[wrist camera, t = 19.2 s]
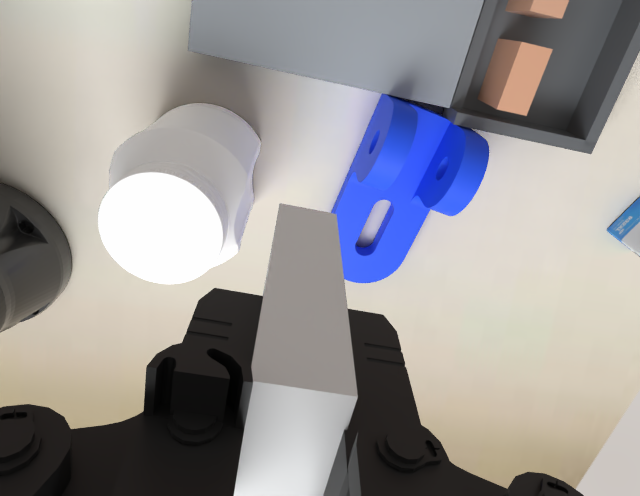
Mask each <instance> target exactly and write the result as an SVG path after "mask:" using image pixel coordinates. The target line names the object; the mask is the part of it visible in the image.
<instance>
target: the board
mask: <svg viewBox="0 0 640 496" xmlns="http://www.w3.org/2000/svg"><path fill="white" fill-rule="evenodd" d="M483 2H484V0H192V6H191V19H190V31H189V43H188V51H192V52H196V53H201V54H205V55H210V56H214V57H219V58H223V59H228V60H233V61H237V62H242V63H246V64H251V65H255V66H260V67H264V68H269V69H274V70H278V71H283V72H287V73H292V74H296V75H301V76H305V77H310V78H314V79H319V80H324V81H328V82H333V83H337V84H342V85H346V86H351V87H355V88H360V89H364V90H369V91H374V92H378V93H383V94H387V95H392V96H396V97H401V98H405V99H410V100H414V101H419V102H424V103H428V104H433V105H437V106H442V107H446V108H450V105H451V102H452V98H453V95H454V92H455V89H456V86H457V83H458V80H459V77H460V74H461V71H462V67H463V64H464V61H465V58H466V55H467V52H468V49H469V46H470V43H471V39H472V36H473V33H474V30H475V27H476V24H477V21H478V18H479V15H480V12H481V8H482V5H483Z"/></svg>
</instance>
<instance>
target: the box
mask: <svg viewBox="0 0 640 496" xmlns="http://www.w3.org/2000/svg"><path fill="white" fill-rule="evenodd" d="M507 3H508V0H484V2H483V5H482V8H481V12H480V15H479V18H478V21H477V24H476V27H475V30H474V33H473V36H472V39H471V43H470V46H469V49H468V52H467V55H466V58H465V61H464V64H463V67H462V71H461V74H460V77H459V80H458V83H457V86H456V89H455V92H454V95H453V98H452V102H451V105H450V108H446V107H444V110H443V113H442V115H443V116H444V117H445V118H446V119H448V120H449V121H450V122H451V123H453V124H454V125H459V126H464V127H468V128H473V129H477V130H482V131H487V132H491V133H496V134H500V135H505V136H510V137H514V138H519V139H524V140H528V141H533V142H537V143H542V144H547V145H551V146H556V147H561V148H565V149H570V150H574V151H579V152H584V153H588V154H591V153H592V151H593V149H594V147H595V145H596V143H597V141H598V138H599V136H600V134H601V132H602V130H603V128H604V126H605V123H606V121H607V119H608V117H609V115H610V113H611V111H612V109H613V106H614V104H615V102H616V100H617V98H618V96H619V94H620V92H621V89H622V87H623V85H624V83H625V81H626V79H627V77H628V75H629V72H630V70H631V68H632V66H633V64H634V62H635V60H636V57H637V55H638V53H639V51H640V0H569V2H568V5H567V7H566V10H565V12H564V15H563V17H562V19H554V18H532V17H528V16H524V15H520V14H515V13H511V12H507V11H505V9H506V6H507ZM498 38H499V39H506V40H513V41H520V42H525V43H529V44H533V45H537V46H541V47H546V48H550V49H553V50H552V53H551V55H550V58H549V60H548V63H547V65H546V68H545V70H544V73H543V75H542V78H541V80H540V83H539V86H538V88H537V91H536V93H535V96H534V98H533V101H532V103H531V106H530V108H529V111H528V113H527V116H524V115H520V114H515V113H511V112H507V111H502V110H498V109H495V108H493V107H492V106H490V105H488V104H486V103H484V102H482V101H480V100H478V99H477V98H478V95H479V92H480V89H481V86H482V84H483V81H484V78H485V75H486V72H487V69H488V66H489V63H490V60H491V58H492V55H493V52H494V49H495V46H496V43H497V40H498Z"/></svg>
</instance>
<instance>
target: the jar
mask: <svg viewBox="0 0 640 496" xmlns="http://www.w3.org/2000/svg"><path fill="white" fill-rule="evenodd" d="M260 146H261V141H260V139H259V137H258V136H257V134H256V133H255V131H254V130H253V129H252V127H251V126H250V125H249V124H248V123H247V122H246V121H245V120H243V119H242V118H241V117H240V116H238V115H237V114H235V113H234V112H232V111H230V110H228V109H226V108H223V107H220V106H217V105H213V104H207V103H191V104H186V105H182V106H179V107H176V108H174V109H172V110H170V111H168V112H167V113H165V114H164V115H162V116H161V117H160V118H159V119H157V120H156V121H155V122H154V123H153V124H152V125H150V126H149V127H147V128H146V129H145V130H143V131H141V132H139V133H137V134H135V135H134V136H132V137H131V138H129V139H128V140H126V141H125V142H124V143H123V144H121V145H120V146H119V147H118V148H117V150H116V151H115V152H114V155H113V158H112V162H111V165H110V170H109V173H110V179H109V190H108V191H107V192H106V194H105V195H104V197H103V200H102V202H101V205H100V208H99V213H98V228H99V232H100V236H101V239H102V241H103V244H104V245H105V247H106V249H107V251H108V252H109V254H110V255H111V256H112V257H113V259H114V260H115V261H116V262H117V263H118V264H119V265H120V266H122V267H123V268H124V269H126V270H127V271H128V272H130V273H132V274H133V275H135V276H137V277H139V278H142V279H144V280H147V281H150V282H154V283H160V284H178V283H184V282H188V281H191V280H194V279H196V278H197V277H199V276H201V275H203V274H204V273H205V272H207V271H208V270H209V269H210V268H212V267H215V266H217V265H220V264H222V263H224V262H226V261H227V260H229V259H230V258H232V257H233V256H234V255H235V254H237V253H238V252H239V249H240V245H241V239H242V236H243V233H244V229H245V226H246V223H247V220H248V217H249V214H250V211H251V210H252V207H253V201H254V194H253V187H252V176H253V169H254V165H255V162H256V159H257V157H258V156H259V153H260Z"/></svg>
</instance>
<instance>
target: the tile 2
mask: <svg viewBox="0 0 640 496" xmlns="http://www.w3.org/2000/svg"><path fill="white" fill-rule="evenodd" d="M568 2H569V0H508V3H507V6H506V9H505V11H507V12H511V13H515V14H520V15H524V16H528V17H532V18H554V19H562V17H563V15H564V12H565V10H566V7H567V5H568Z"/></svg>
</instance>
